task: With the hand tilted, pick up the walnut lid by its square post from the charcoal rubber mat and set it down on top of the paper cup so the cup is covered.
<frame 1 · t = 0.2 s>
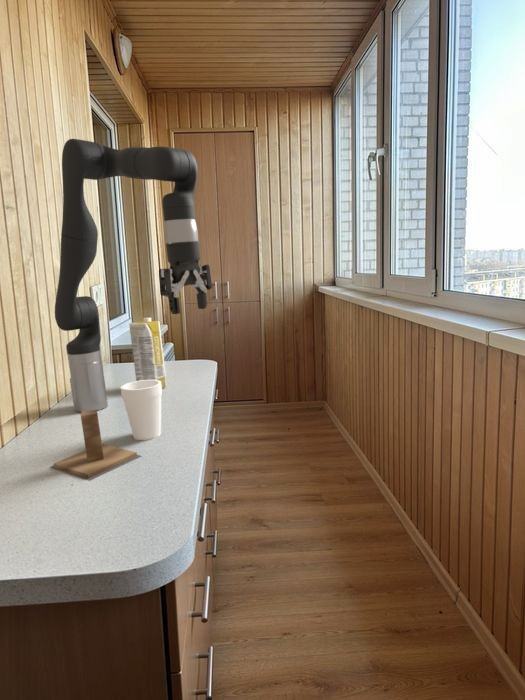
hand: (189, 311, 114), 29 cm above the table, fingers open, 8 cm apart
lid: (96, 461, 103), resting on mat
juice carton: (152, 389, 163), on the table
mat: (96, 463, 103), on the table
foam cup: (147, 437, 117), on the table
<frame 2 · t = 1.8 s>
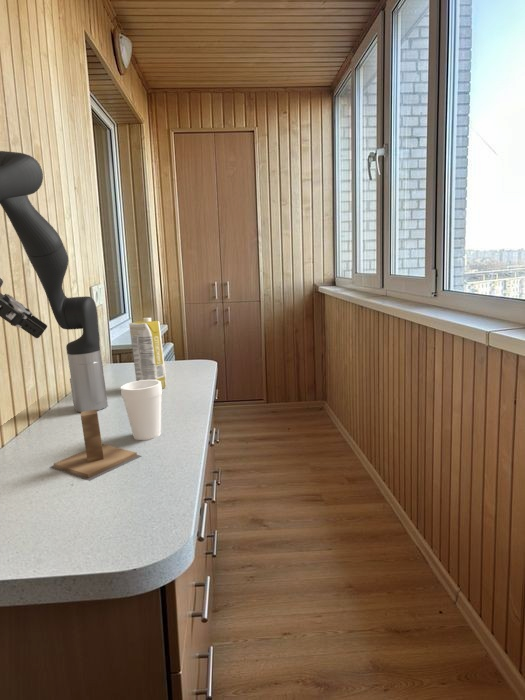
hand: (43, 332, 98), 29 cm above the table, fingers open, 8 cm apart
nothing on the table moved.
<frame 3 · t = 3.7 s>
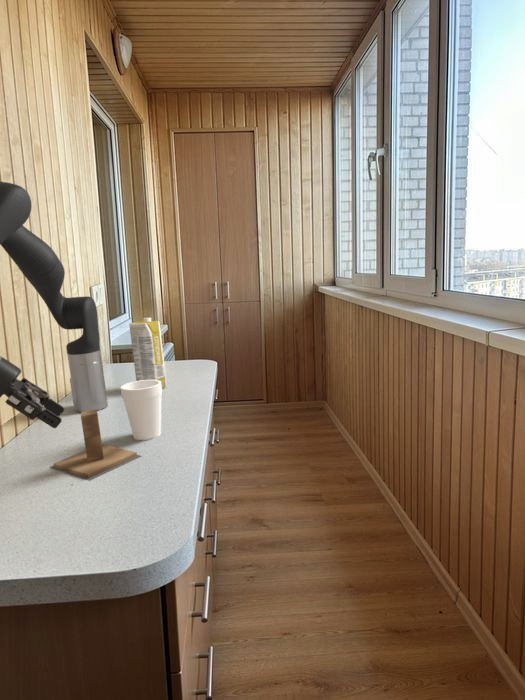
hand: (60, 418, 99), 11 cm above the table, fingers open, 8 cm apart
nothing on the table moved.
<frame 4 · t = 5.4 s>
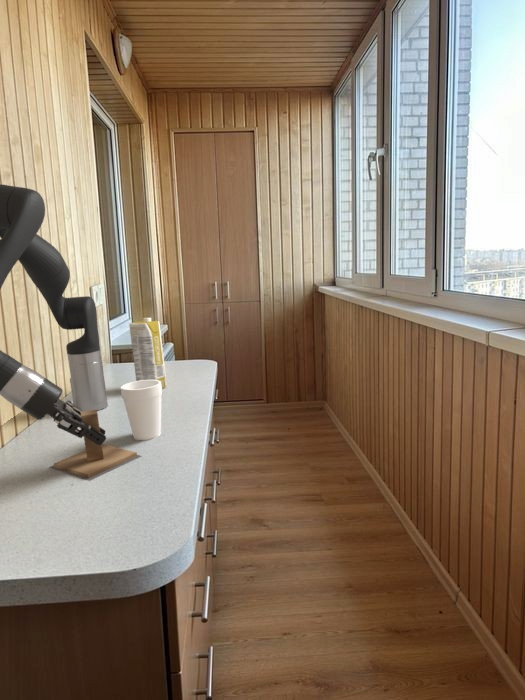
hand: (102, 438, 102), 5 cm above the table, fingers closed on lid, 3 cm apart
lid: (96, 461, 103), resting on mat, touching gripper
everything else where it was.
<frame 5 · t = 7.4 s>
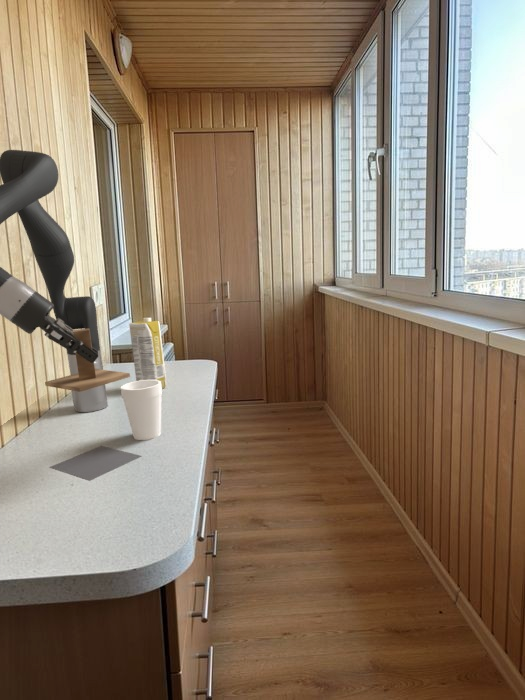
hand: (95, 357, 100), 22 cm above the table, fingers closed on lid, 3 cm apart
lid: (88, 381, 101), point 18 cm above the table, touching gripper
everything else where it was.
when the fingers open (19 cm above the table, at t = 9.4 s): lid drops 1 cm, resting on foam cup.
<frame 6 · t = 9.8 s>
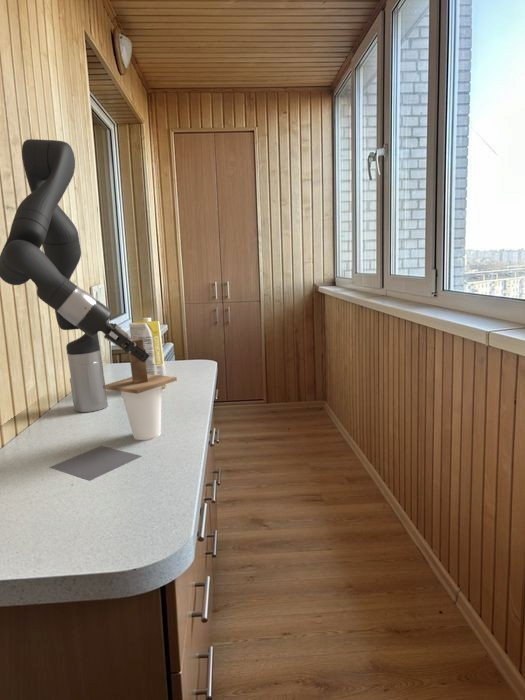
hand: (144, 356, 113), 20 cm above the table, fingers open, 6 cm apart
lid: (140, 384, 114), point 13 cm above the table, touching foam cup
foam cup: (147, 437, 117), on the table, touching lid
everything else where it was.
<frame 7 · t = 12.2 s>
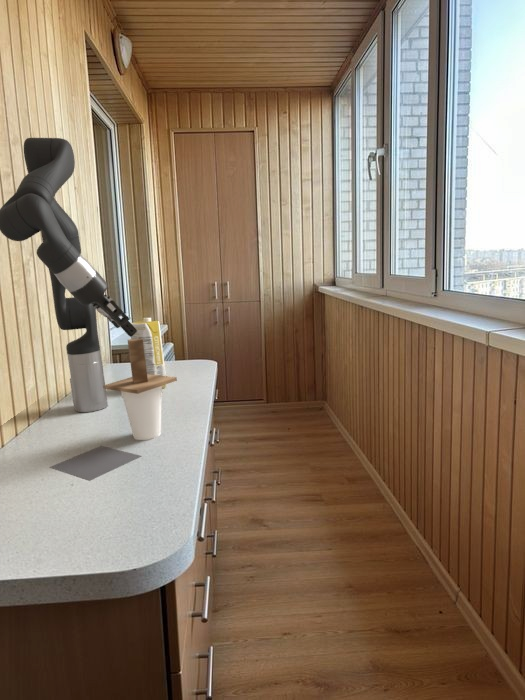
hand: (126, 329, 116), 26 cm above the table, fingers open, 8 cm apart
nothing on the table moved.
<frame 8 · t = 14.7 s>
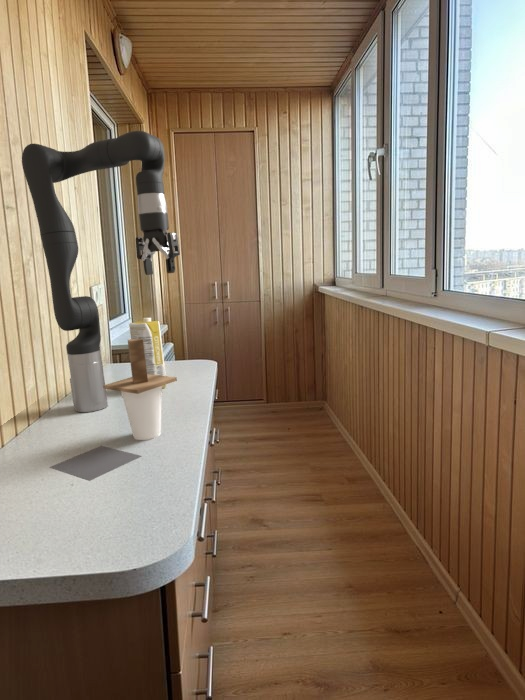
hand: (159, 273, 132), 38 cm above the table, fingers open, 8 cm apart
nothing on the table moved.
at the end: lid 0.1 cm from the foam cup (horizontally); lid point 13.0 cm above the table; foam cup tilted 0° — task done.
